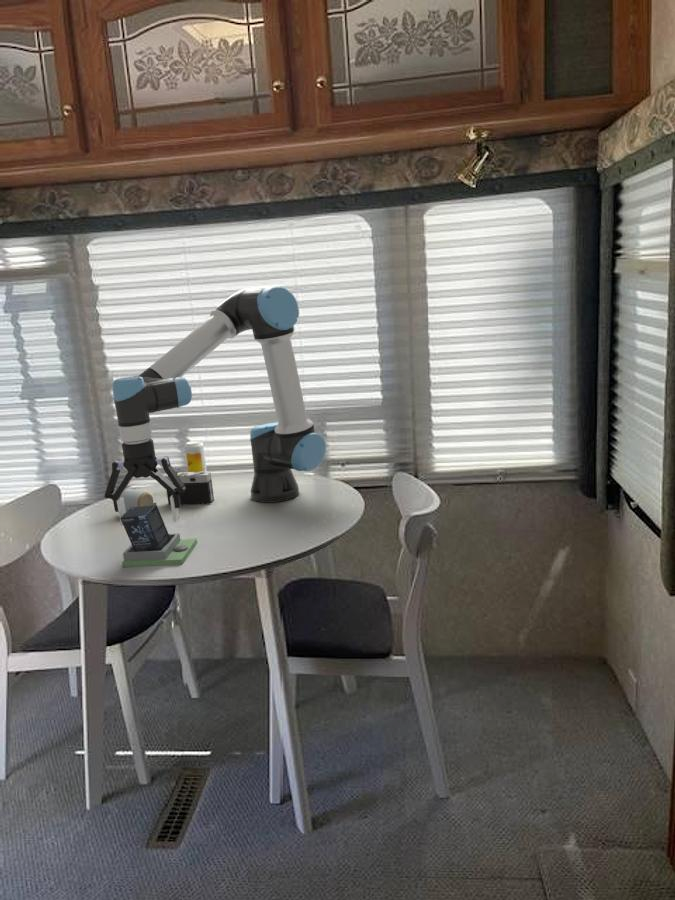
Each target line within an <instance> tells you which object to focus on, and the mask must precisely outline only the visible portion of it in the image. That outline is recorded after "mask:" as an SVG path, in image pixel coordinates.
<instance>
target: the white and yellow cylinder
mask: <svg viewBox="0 0 675 900" xmlns="http://www.w3.org/2000/svg"><path fill="white" fill-rule="evenodd" d="M184 447H185V455H186V462H187V463H186V464H187V470H188V471H187V472H201V471H203V472H208V471H207V462H206V454H205V447H204V443H203V441H202V440H191V441H187V442H186V443H185V446H184Z"/></svg>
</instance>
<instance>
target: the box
mask: <svg viewBox="0 0 675 900" xmlns="http://www.w3.org/2000/svg"><path fill="white" fill-rule="evenodd" d="M120 519H121V521H122V523H123V525H122V526H123V528H124V531H125V532H126V534H127V536H128V539H129V541H130V545H131V544H132V546H133V549H134V551H135V552H140V551H161V550H162V549H163V548H164V546H165V545H166V544H167V543H168V542H169V541H170V540H171V539H170V536H169V534H170V533H169V532H168V530H167V527H166V524H165V522H164V520H163V517H162V514H161V512H160V509H159V507H158V505H157V504H156V505H150V506H141V507H131V508H130V509H129V510H128V511H127V512H126V513H125V514H124V515H123V516H122V517H121V518H119V520H120Z"/></svg>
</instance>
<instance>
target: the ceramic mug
mask: <svg viewBox="0 0 675 900" xmlns="http://www.w3.org/2000/svg"><path fill="white" fill-rule="evenodd" d="M120 497H123V498H124V504H125V509H126V512H127V511H128V510H129V509H130V508H131V507H141V506H150V505H157V502H154V499H153V498H154V497H153V495H152V494H151V493H149V492H148V491H144V490H139V489H133V488H129V487H128V488H125V489H124V491H123V492H122V494H121V496H120Z"/></svg>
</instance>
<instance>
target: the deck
mask: <svg viewBox="0 0 675 900" xmlns="http://www.w3.org/2000/svg"><path fill="white" fill-rule="evenodd" d="M168 534H169V536H170V539H171V540H170V541H169V542H168V543H167V544H166V545H165V546H164V548H163V549H162V550H161V551H140V552H135V551H134V549H133V546H132V544H131V543H130V545H129V546H128V548H126V549H125V551H123V553H122V557H123V558H122V559H123V561H122V567H123V566H129V567H142V566H141V565H144V566H143V567H148V566H166V565H171V566H172V565H184V563H185V561H186V559H187V558H188V557H189V555H190V554H191V552H192V551H193V549H194V548H195V547H196V545H197V544H198V539H197V538H182V539H181V535H180V533H168ZM137 565H138V566H137ZM146 565H147V566H146Z"/></svg>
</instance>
